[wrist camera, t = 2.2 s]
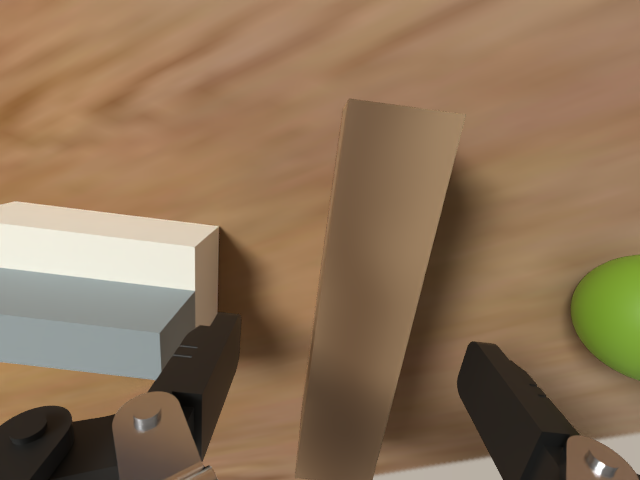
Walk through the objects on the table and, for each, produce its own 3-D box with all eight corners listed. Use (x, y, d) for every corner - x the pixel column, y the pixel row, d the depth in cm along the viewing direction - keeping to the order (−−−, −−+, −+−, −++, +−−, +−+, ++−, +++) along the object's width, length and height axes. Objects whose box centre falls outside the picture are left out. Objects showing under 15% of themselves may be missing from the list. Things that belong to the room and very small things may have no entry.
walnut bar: (420, 120, 14) (466, 114, 9) (360, 399, 19) (370, 486, 15) (342, 110, 14) (349, 98, 9) (303, 392, 19) (294, 477, 15)
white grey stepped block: (218, 226, 16) (156, 279, 10) (217, 329, 18) (163, 422, 12) (15, 201, 16) (-164, 241, 10) (36, 308, 18) (-105, 392, 12)
